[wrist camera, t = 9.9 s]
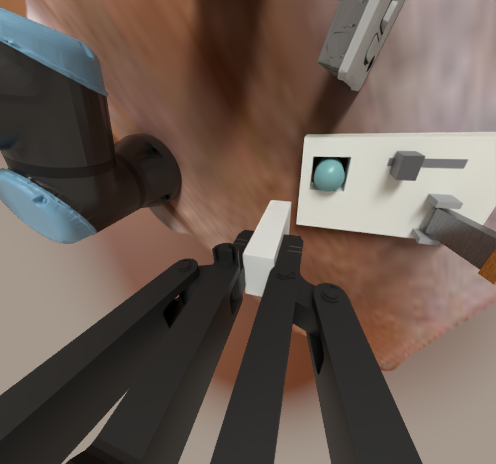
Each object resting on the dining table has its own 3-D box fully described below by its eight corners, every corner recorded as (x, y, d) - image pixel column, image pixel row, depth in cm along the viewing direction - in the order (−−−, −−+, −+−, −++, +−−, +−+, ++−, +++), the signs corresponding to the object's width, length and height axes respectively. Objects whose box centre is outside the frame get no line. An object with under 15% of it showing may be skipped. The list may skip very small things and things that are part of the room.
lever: (416, 229, 28) (493, 284, 19) (428, 203, 26) (521, 251, 17) (431, 228, 28) (515, 283, 19) (444, 202, 26) (545, 251, 17)
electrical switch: (358, 93, 27) (361, 84, 19) (322, 81, 28) (311, 69, 20) (410, -11, 21) (442, -78, 14) (362, -20, 22) (368, -88, 15)
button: (314, 180, 33) (312, 190, 29) (317, 155, 31) (315, 162, 27) (339, 181, 32) (341, 192, 28) (345, 156, 30) (347, 163, 26)
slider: (389, 173, 26) (395, 180, 24) (397, 150, 25) (404, 155, 22) (407, 174, 26) (415, 180, 23) (416, 151, 24) (425, 156, 22)
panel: (299, 214, 38) (294, 232, 33) (307, 134, 31) (302, 140, 25) (454, 231, 31) (481, 257, 26) (513, 131, 24) (568, 138, 18)
